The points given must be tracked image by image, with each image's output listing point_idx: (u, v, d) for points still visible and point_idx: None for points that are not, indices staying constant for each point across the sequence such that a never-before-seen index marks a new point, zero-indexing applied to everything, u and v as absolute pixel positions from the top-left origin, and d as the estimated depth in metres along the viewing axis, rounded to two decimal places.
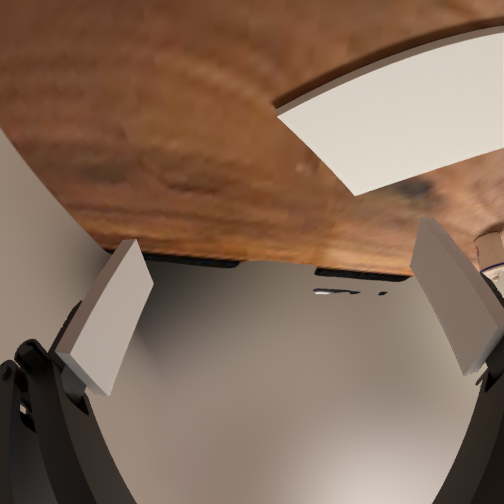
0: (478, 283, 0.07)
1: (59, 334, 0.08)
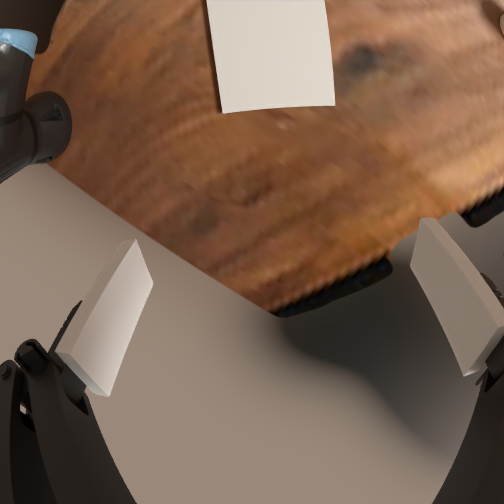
0: (478, 283, 0.07)
1: (59, 334, 0.08)
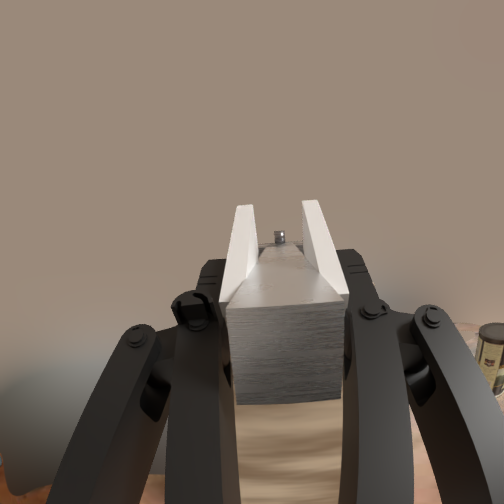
0: (325, 255, 0.10)
1: None
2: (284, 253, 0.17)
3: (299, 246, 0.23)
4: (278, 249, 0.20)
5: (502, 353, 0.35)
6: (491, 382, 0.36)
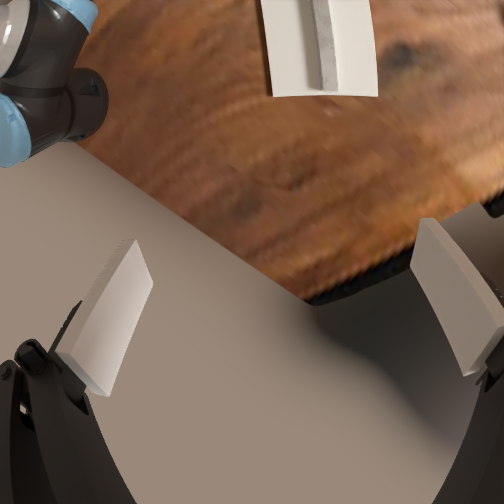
0: (478, 283, 0.07)
1: (59, 334, 0.08)
2: (325, 26, 0.31)
3: None
4: (320, 7, 0.29)
5: None
6: None
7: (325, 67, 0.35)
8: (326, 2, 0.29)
